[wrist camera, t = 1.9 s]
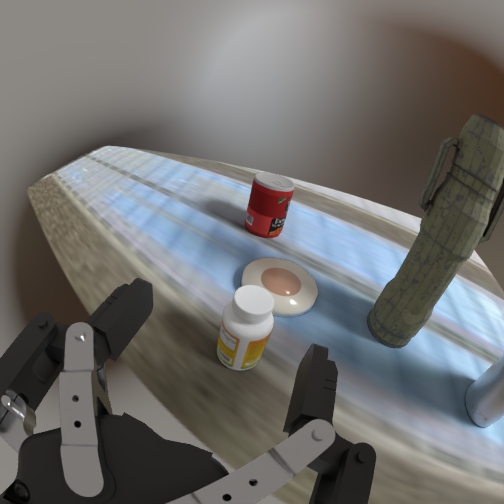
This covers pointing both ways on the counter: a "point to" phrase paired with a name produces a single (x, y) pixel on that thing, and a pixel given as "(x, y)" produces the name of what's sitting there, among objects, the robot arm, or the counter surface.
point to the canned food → (268, 204)
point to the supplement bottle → (245, 327)
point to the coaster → (283, 285)
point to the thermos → (444, 230)
